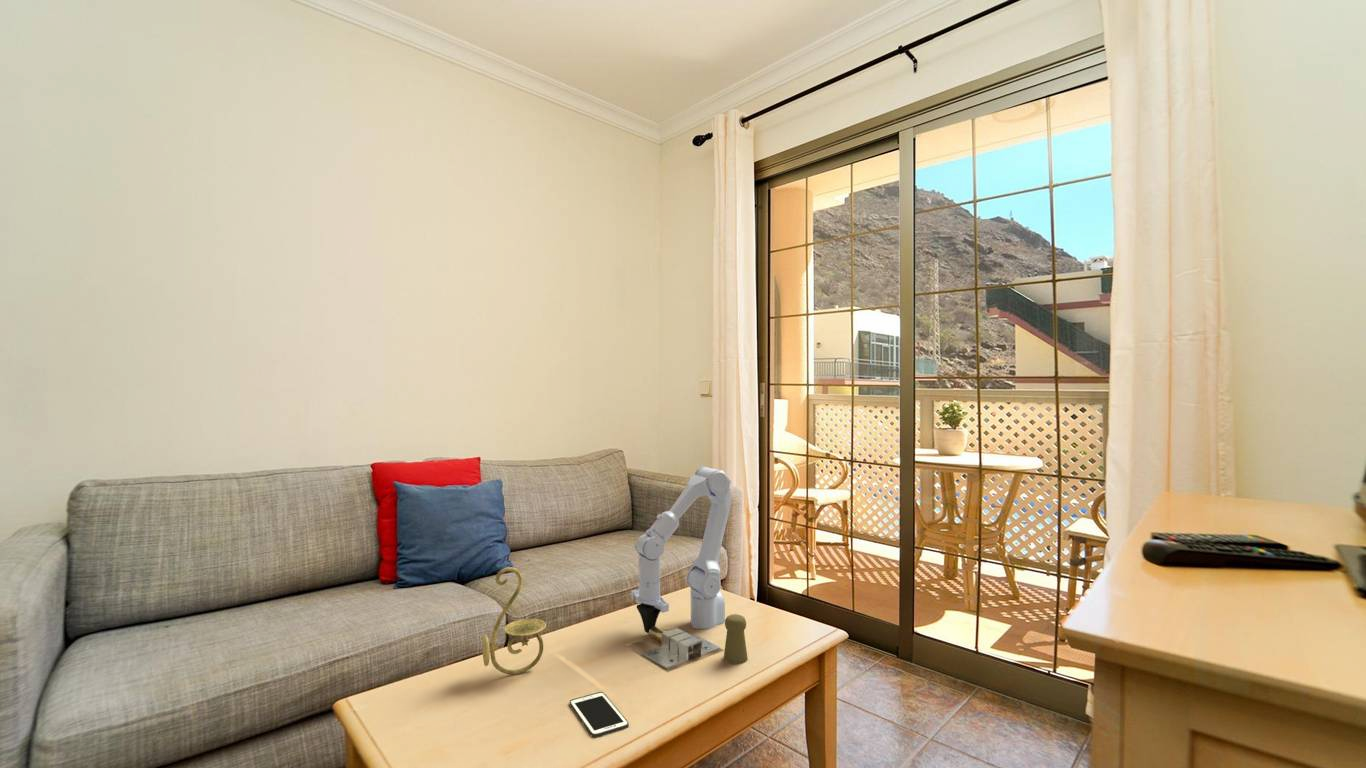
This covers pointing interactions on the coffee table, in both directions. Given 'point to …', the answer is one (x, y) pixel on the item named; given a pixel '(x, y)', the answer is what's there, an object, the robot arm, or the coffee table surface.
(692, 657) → the board
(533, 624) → the wall sconce
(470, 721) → the coffee table surface
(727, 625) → the olive green pawn
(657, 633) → the pin
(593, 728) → the cell phone
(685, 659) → the hinge leaves
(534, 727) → the coffee table surface
